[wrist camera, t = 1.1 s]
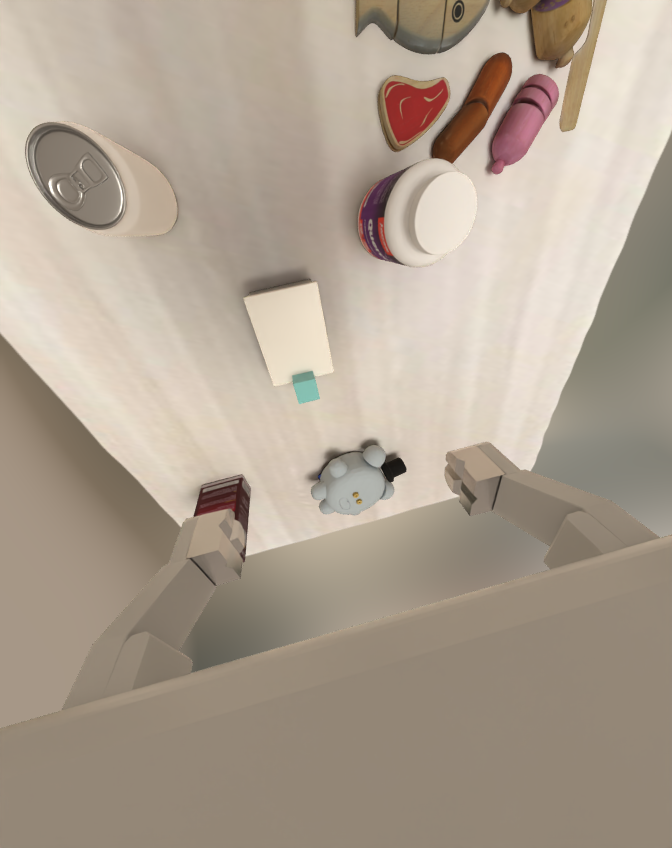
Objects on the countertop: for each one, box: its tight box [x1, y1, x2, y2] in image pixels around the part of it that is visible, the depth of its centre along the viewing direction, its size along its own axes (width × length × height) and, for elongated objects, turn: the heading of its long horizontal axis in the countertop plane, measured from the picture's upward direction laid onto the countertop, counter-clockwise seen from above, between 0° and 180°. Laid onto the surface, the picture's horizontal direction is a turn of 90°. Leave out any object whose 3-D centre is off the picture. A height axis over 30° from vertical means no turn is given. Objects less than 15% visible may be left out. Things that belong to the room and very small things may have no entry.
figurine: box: [311, 445, 406, 515], centre depth 56 cm, size 17×8×20 cm
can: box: [25, 121, 177, 236], centre depth 23 cm, size 6×6×12 cm
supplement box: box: [194, 475, 251, 562], centre depth 48 cm, size 9×5×16 cm, turn 100°
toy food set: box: [356, 0, 607, 174], centre depth 26 cm, size 26×16×4 cm, turn 101°
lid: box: [243, 281, 334, 404], centre depth 35 cm, size 14×9×4 cm, turn 9°
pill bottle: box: [358, 158, 477, 268], centre depth 28 cm, size 8×8×14 cm
